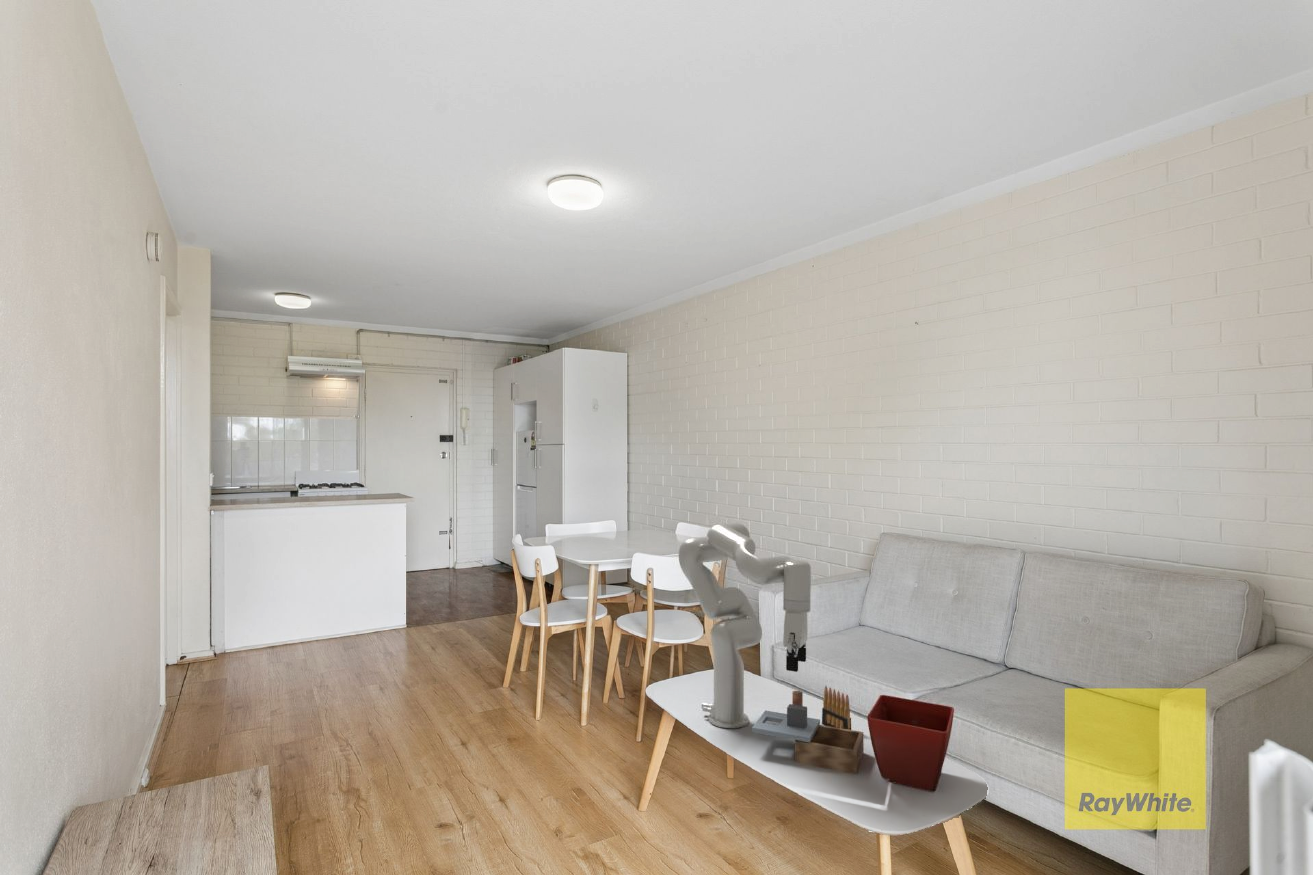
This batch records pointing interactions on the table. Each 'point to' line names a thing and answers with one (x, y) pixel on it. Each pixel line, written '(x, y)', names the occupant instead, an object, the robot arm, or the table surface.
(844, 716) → the ammunition clip
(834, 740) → the brown hollow box
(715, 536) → the robot arm
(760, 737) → the table surface
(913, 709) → the plant pot
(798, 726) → the toolbox lid
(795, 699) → the brown rounded cylinder
